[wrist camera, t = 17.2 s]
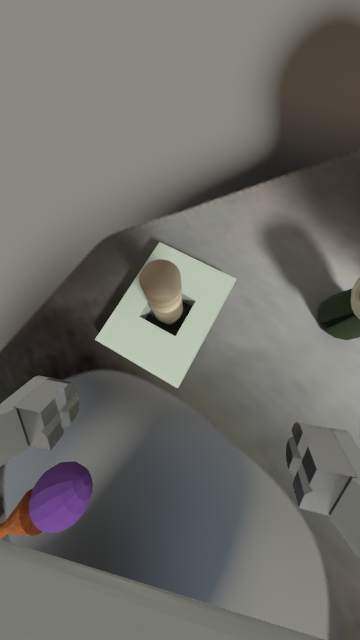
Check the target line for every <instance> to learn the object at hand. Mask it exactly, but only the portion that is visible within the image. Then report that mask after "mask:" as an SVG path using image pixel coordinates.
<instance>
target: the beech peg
mask: <svg viewBox="0 0 360 640" xmlns="http://www.w3.org/2000/svg"><path fill="white" fill-rule="evenodd" d="M139 283H140V286H141V288H142V290H143V292H144V294H145V296H146V298H147V300H148V302H149V304H150V306H151V308H152V310H153V313H154V315H155V317H156V318H157V319H158V320H159V321H161V322H162V323H164V324H166V325H174V324H176V323H177V322H178V321H179V319H180V317H181V315H182V313H183V303H182V286H181V274H180V271H179V269H178V267H177V266H176V265H175V264H174V263H172V262H170V261H168V260H163V259H159V260H154V261H151V262H149V263H148V264H147V265H145V266H144V268H143V269H142V270H141V273H140V276H139Z"/></svg>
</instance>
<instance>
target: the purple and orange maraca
mask: <svg viewBox="0 0 360 640" xmlns="http://www.w3.org/2000/svg"><path fill="white" fill-rule="evenodd" d="M92 485H93V484H92V478H91V476H90V473H89V471H88V470H87V469H86V468H85V467H84V466H82V465H80V464H78V463H77V462H62V463H59V464H58V465H56V466H54V467H52V468H51V469H49V470H48V471H46V472H45V473H44V474H43V475H42V476H41V478H40V479H39V481H38V482H37V483H36V485H35V487H34V488H33V489H31V490H30V491H28V492H27V493H26V494H25V495H24V497H23V498H22V500H21V501H20V502H19V504H18V505H17V507H16V508H15V509H14V511H13V512H12V513H11V515H10V516H9V518H8V519H7V520H6V522H4V523H2V524H0V539H1V538H2V537H4V536H5V535H6V534H16V535H31V536H34V535H37V534H39V533H41V532H42V531H43V532H46V533H57V532H60V531H62V530H65V529H67V528H68V527H70V526H71V525H73V524H75V523H76V521H77V520H78V519H79V518H80V516H81V515H82V514H83V512H84V511H85V510H86V508H87V507H88V504H89V501H90V498H91V494H92Z"/></svg>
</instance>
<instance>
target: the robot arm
mask: <svg viewBox="0 0 360 640" xmlns="http://www.w3.org/2000/svg"><path fill="white" fill-rule="evenodd" d="M76 392H77V388H76V384H75V383H72V382H68V381H63V380H59V379H54V378H48V377H43V376H37V377H34V378H33V379H31V380H30V381H29V382H28V383H26V384H25V385H24V386H23V387H21V388H20V389H19V390H17V391H16V392H15V393H14V394H12V395H11V396H10V397H9V398H7V399H6V400H5V401H4V402H2V403H1V404H0V466H2V465H3V464H5V463H6V462H8V461H9V460H11V459H12V458H14V457H15V456H17V455H18V454H20V453H21V452H23V451H24V450H26V449H28V448H29V446H31V447H36V448H41V449H46V450H51V449H52V448H53V447H54V446H55V444H56V443H57V442H58V440H59V439H60V438H61V437H62V435H63V428H65V427H67V426H69V425H70V424H72V422H73V421H74V419H75V418H76V416H77V413H78V411H79V399H78V398H77V397H76V396H75V393H76ZM292 433H293V437H291V438H289V439H288V441H287V444H286V462H287V466H288V470H289V471H290V472H291V473H292V475H293V476H294V477H295V478H294V481H293V483H292V486H293V489H294V493H295V497H296V501H297V504H298V508H301V509H305V510H308V511H312V512H316V513H320V514H324V515H328V516H329V518H330V520H331V521H332V522H333V524H334V525H335V526H336V528H337V529H338V531H339V532H340V533H341V535H342V536H343V537H344V539H345V540H346V541H347V543H348V544H349V545H350V547H351V548H352V550H353V551H354V552H355V554H356V555H357V556H358V558H359V559H360V450H359V448H358V447H357V445H356V443H355V442H354V440H353V438H352V437H351V435H350V434H349V433H348V432H347V431H346V430H340V429H334V428H327V427H322V426H316V425H310V424H304V423H298V422H296V423H295V424H294V425H293V427H292ZM0 640H324V639H321V638H318V637H314V636H311V635H308V634H305V633H301V632H298V631H295V630H292V629H288V628H285V627H282V626H279V625H275V624H272V623H269V622H266V621H262V620H259V619H256V618H253V617H250V616H246V615H243V614H240V613H236V612H233V611H230V610H226V609H224V608H220V607H217V606H213V605H211V604H207V603H204V602H200V601H198V600H195V599H191V598H188V597H185V596H181V595H178V594H175V593H172V592H169V591H165V590H162V589H159V588H156V587H152V586H149V585H146V584H143V583H139V582H136V581H133V580H130V579H127V578H123V577H120V576H117V575H114V574H110V573H107V572H104V571H101V570H97V569H94V568H91V567H88V566H84V565H81V564H78V563H75V562H72V561H68V560H65V559H61V558H59V557H55V556H52V555H49V554H45V553H42V552H39V551H36V550H33V549H29V548H26V547H23V546H19V545H16V544H13V543H10V542H7V541H3V540H0Z"/></svg>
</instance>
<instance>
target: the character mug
mask: <svg viewBox="0 0 360 640" xmlns="http://www.w3.org/2000/svg"><path fill="white" fill-rule="evenodd" d="M319 320H320V322H321V323H323V322H326V321H328V323H329V325H331V327H329V328H326V329H325V330H326V332H328V333H329V334H331V335H332V336H334V337H335V338H339V339H344V340H349V339H354V338H358V337H360V278H358V279H357V281H356V283H355V285H354V287H353V289H350V290H347V291H344V292H341V293H338V294H336V295H333V296H331V297H329V298H328V299H327V300H325V301H324V302H323V303H322V304H321V307H320V309H319Z"/></svg>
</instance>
